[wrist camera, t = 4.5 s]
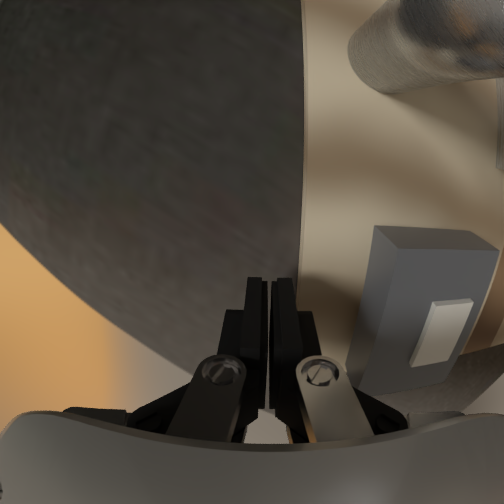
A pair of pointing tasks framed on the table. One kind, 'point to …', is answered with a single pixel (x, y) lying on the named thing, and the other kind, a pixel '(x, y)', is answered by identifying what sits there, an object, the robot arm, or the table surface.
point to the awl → (428, 44)
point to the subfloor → (387, 174)
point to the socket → (500, 123)
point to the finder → (417, 306)
